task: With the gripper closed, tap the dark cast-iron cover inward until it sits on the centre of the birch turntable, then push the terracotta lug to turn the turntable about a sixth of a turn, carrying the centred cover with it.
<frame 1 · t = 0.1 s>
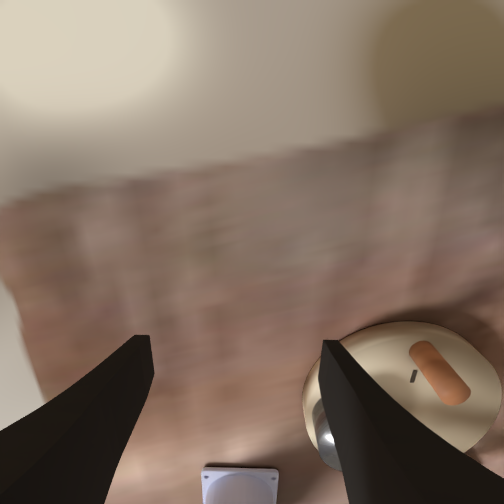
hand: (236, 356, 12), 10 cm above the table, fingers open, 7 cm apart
turntable: (407, 426, 23), point 3 cm above the table, hinge at 0.0°, touching iron cover
iron cover: (347, 413, 24), point 2 cm above the table, touching turntable
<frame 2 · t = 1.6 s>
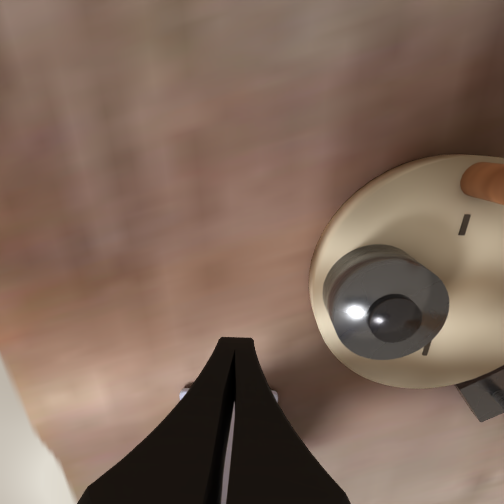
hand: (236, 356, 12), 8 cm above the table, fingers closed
turntable: (453, 299, 17), point 3 cm above the table, hinge at 0.0°, touching iron cover
grey and clear piece: (488, 384, 23), on the table
iron cover: (370, 289, 18), point 2 cm above the table, touching turntable
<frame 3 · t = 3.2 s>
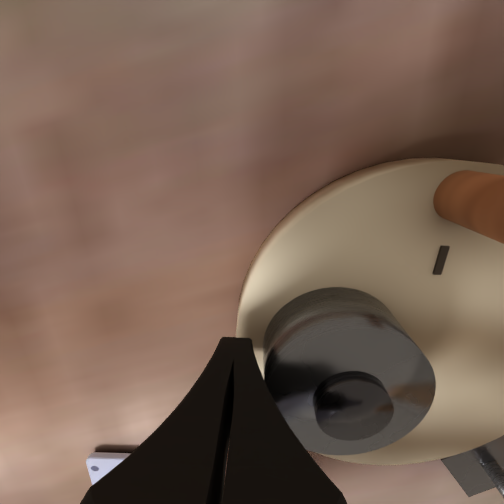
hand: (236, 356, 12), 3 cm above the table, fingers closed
turntable: (426, 364, 12), point 3 cm above the table, hinge at 0.0°, touching iron cover
grey and clear piece: (478, 449, 18), on the table
iron cover: (329, 346, 13), point 2 cm above the table, touching gripper, turntable
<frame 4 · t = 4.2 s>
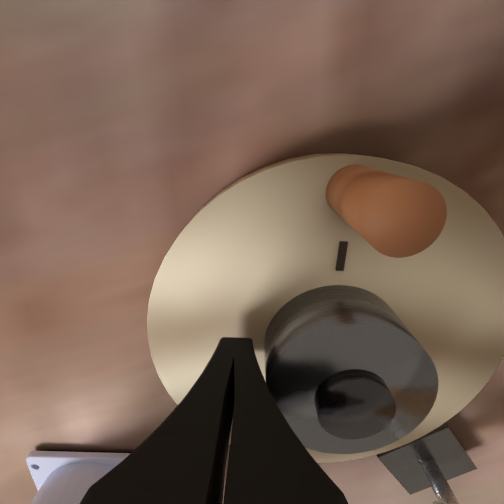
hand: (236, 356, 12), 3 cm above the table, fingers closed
turntable: (333, 361, 12), point 3 cm above the table, hinge at 0.0°, touching iron cover
grey and clear piece: (419, 446, 18), on the table
iron cover: (331, 344, 13), point 2 cm above the table, touching gripper, turntable
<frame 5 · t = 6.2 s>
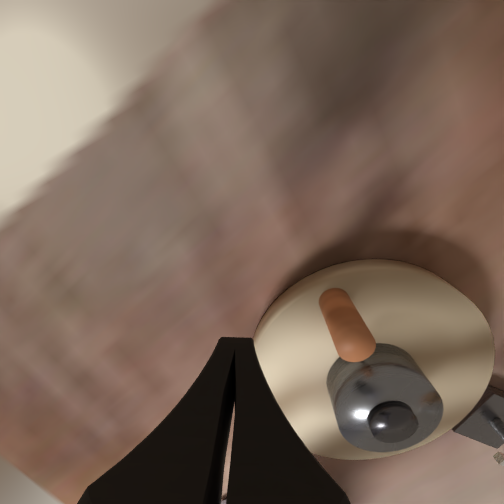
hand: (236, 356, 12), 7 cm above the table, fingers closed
turntable: (374, 392, 18), point 3 cm above the table, hinge at 0.0°, touching iron cover
grey and clear piece: (486, 411, 23), on the table
iron cover: (371, 379, 19), point 2 cm above the table, touching turntable
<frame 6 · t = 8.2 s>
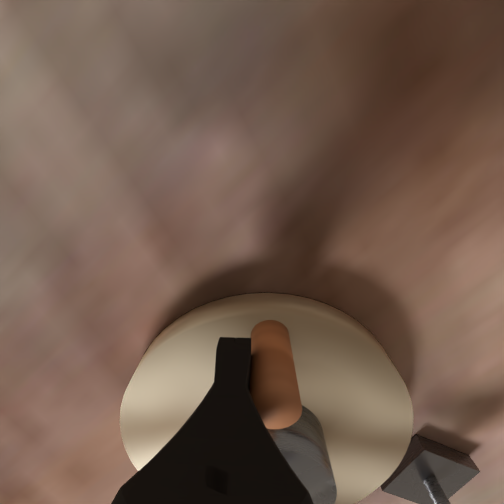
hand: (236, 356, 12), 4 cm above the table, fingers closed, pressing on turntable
turntable: (266, 456, 15), point 3 cm above the table, hinge at 26.4°, touching gripper, iron cover
grey and clear piece: (421, 465, 20), on the table
iron cover: (268, 438, 16), point 2 cm above the table, touching turntable
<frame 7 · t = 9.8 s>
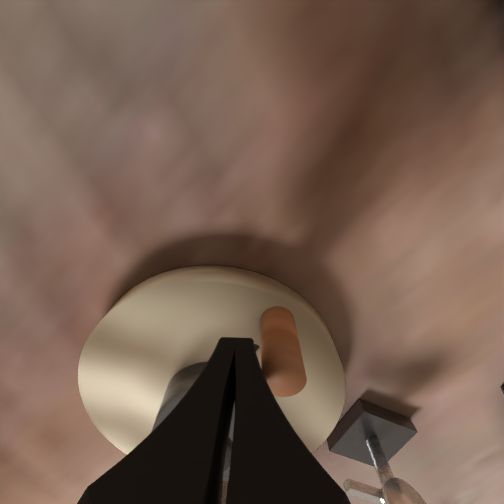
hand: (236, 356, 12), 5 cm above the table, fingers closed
turntable: (210, 413, 16), point 3 cm above the table, hinge at 59.3°, touching iron cover
grey and clear piece: (367, 428, 21), on the table
iron cover: (215, 399, 17), point 2 cm above the table, touching turntable
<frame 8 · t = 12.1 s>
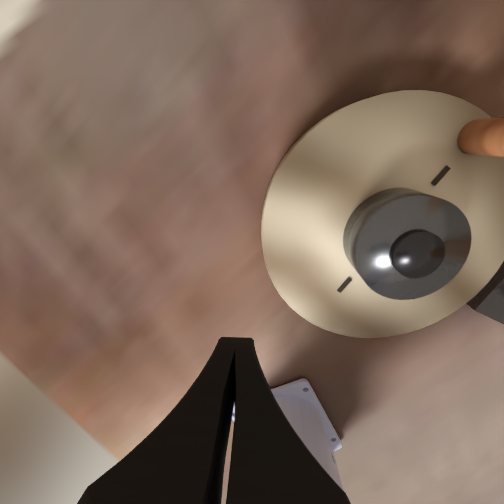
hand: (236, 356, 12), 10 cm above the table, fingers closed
turntable: (395, 239, 17), point 3 cm above the table, hinge at 59.3°, touching iron cover
iron cover: (390, 235, 18), point 2 cm above the table, touching turntable
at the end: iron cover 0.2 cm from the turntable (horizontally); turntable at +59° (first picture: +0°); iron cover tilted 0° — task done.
